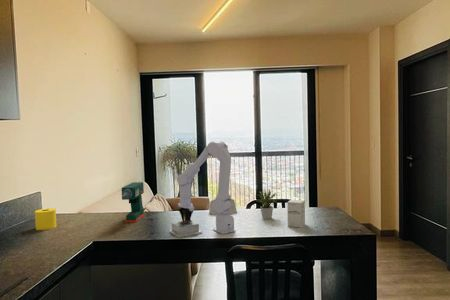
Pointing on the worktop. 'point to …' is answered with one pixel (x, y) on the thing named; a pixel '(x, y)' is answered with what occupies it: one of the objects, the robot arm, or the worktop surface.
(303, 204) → the supplement box
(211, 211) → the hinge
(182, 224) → the chuck block
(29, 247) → the worktop surface
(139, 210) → the power tool
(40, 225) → the yellow holed block
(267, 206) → the house plant
